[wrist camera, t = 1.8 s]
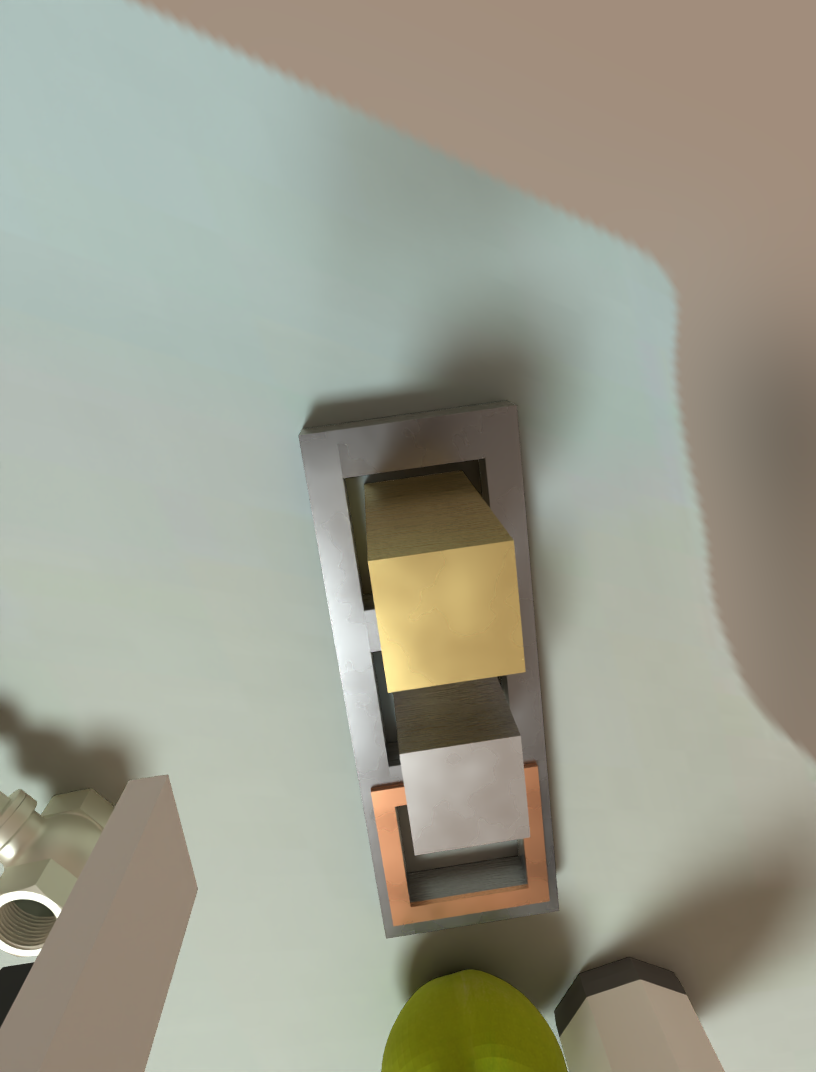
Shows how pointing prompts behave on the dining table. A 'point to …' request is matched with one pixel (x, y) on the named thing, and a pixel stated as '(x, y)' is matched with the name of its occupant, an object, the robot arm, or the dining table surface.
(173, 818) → the robot arm
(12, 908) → the valve
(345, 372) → the dining table surface
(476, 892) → the grey compartment tray
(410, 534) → the brass block
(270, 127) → the dining table surface
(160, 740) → the dining table surface
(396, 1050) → the fruit
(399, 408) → the dining table surface
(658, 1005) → the wine bottle
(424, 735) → the grey rectangular block
